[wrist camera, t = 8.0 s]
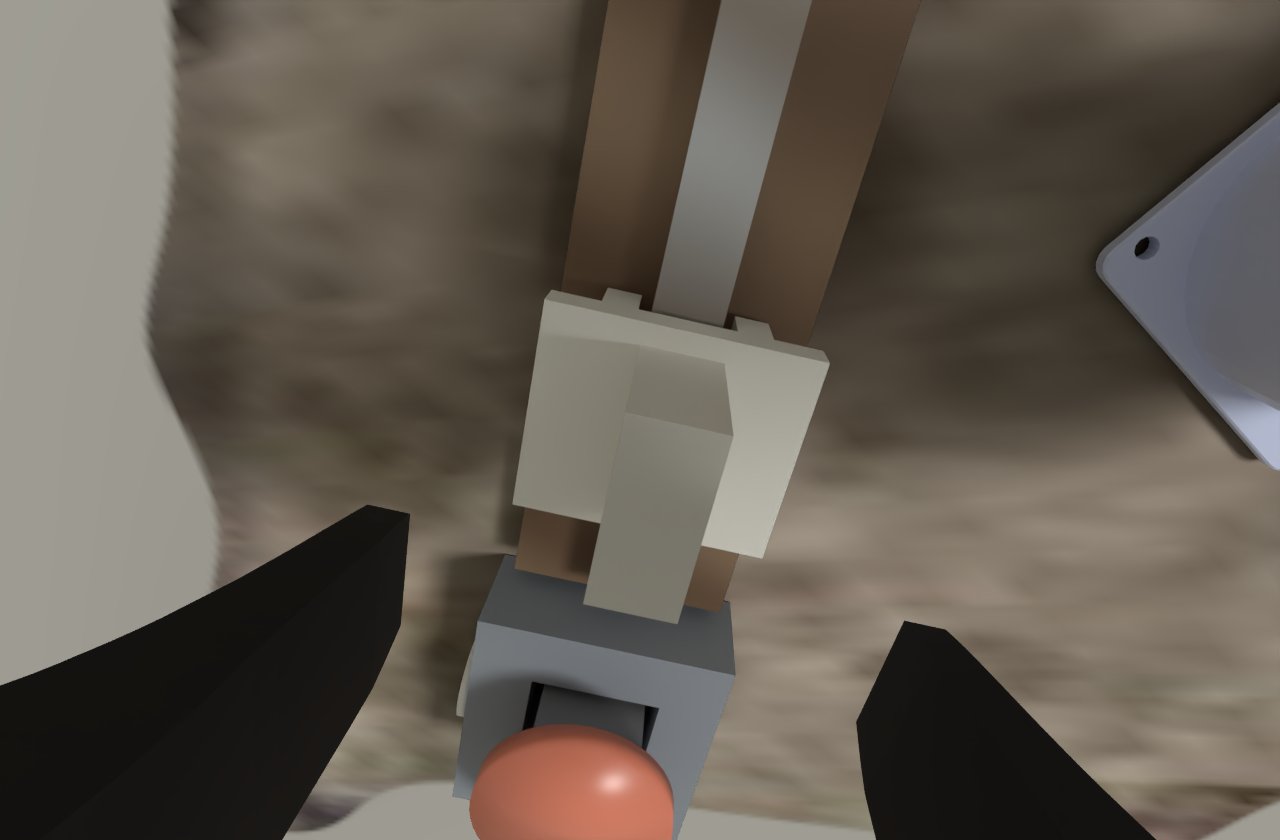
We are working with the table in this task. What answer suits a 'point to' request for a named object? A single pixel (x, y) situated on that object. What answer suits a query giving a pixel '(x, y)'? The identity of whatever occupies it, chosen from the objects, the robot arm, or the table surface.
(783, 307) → the rail board
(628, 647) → the grey square base
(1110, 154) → the table surface
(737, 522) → the carriage
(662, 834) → the button
